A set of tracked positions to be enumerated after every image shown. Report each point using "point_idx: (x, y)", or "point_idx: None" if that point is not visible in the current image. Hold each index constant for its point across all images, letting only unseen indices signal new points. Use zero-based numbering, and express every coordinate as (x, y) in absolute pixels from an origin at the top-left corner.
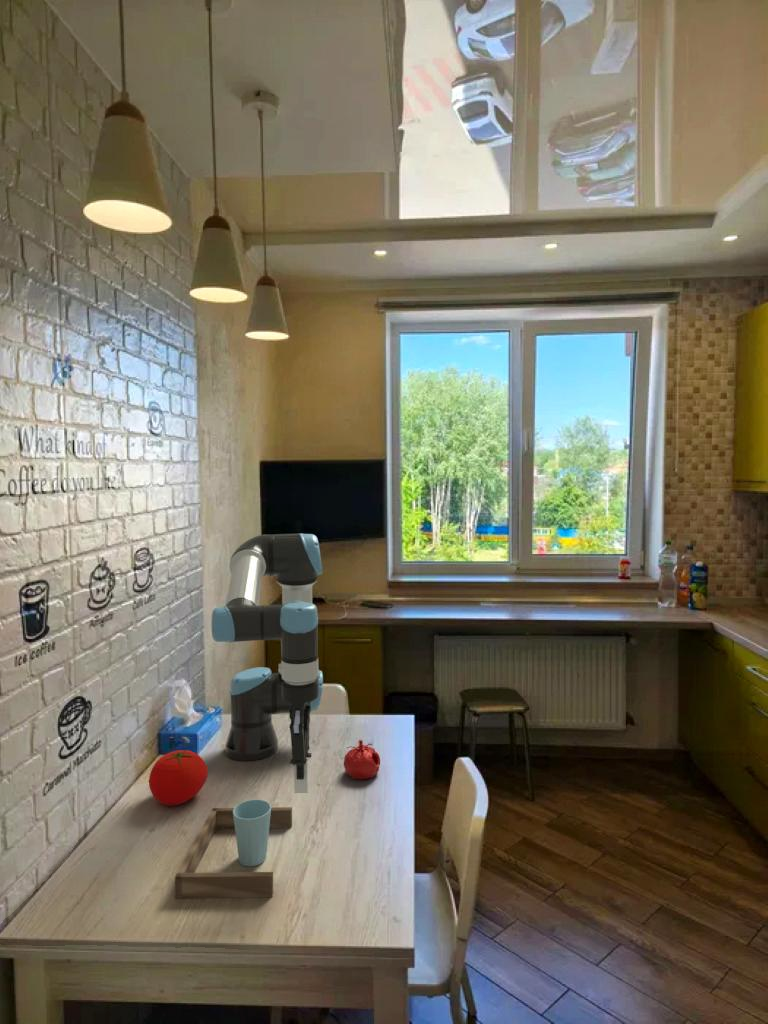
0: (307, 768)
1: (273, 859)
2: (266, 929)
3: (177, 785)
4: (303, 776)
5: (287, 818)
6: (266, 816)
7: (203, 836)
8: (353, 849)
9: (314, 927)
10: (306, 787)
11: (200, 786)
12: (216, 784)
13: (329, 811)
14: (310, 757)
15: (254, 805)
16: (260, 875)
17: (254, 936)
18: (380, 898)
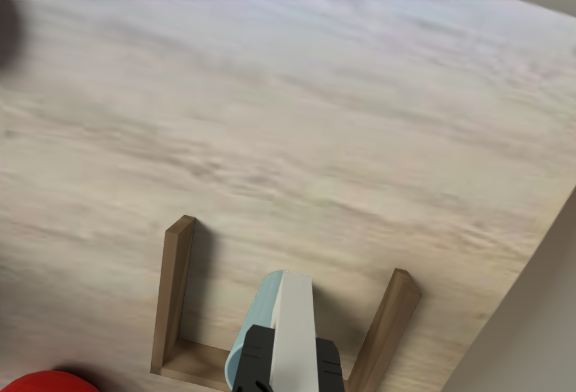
0: (306, 356)
1: (297, 259)
2: (482, 284)
3: None
4: (339, 357)
5: (186, 233)
6: None
7: None
8: (307, 95)
9: (518, 213)
10: (311, 294)
11: (64, 389)
12: (21, 334)
13: (138, 126)
14: (264, 383)
15: (233, 356)
16: (410, 313)
17: (489, 301)
18: (503, 69)
